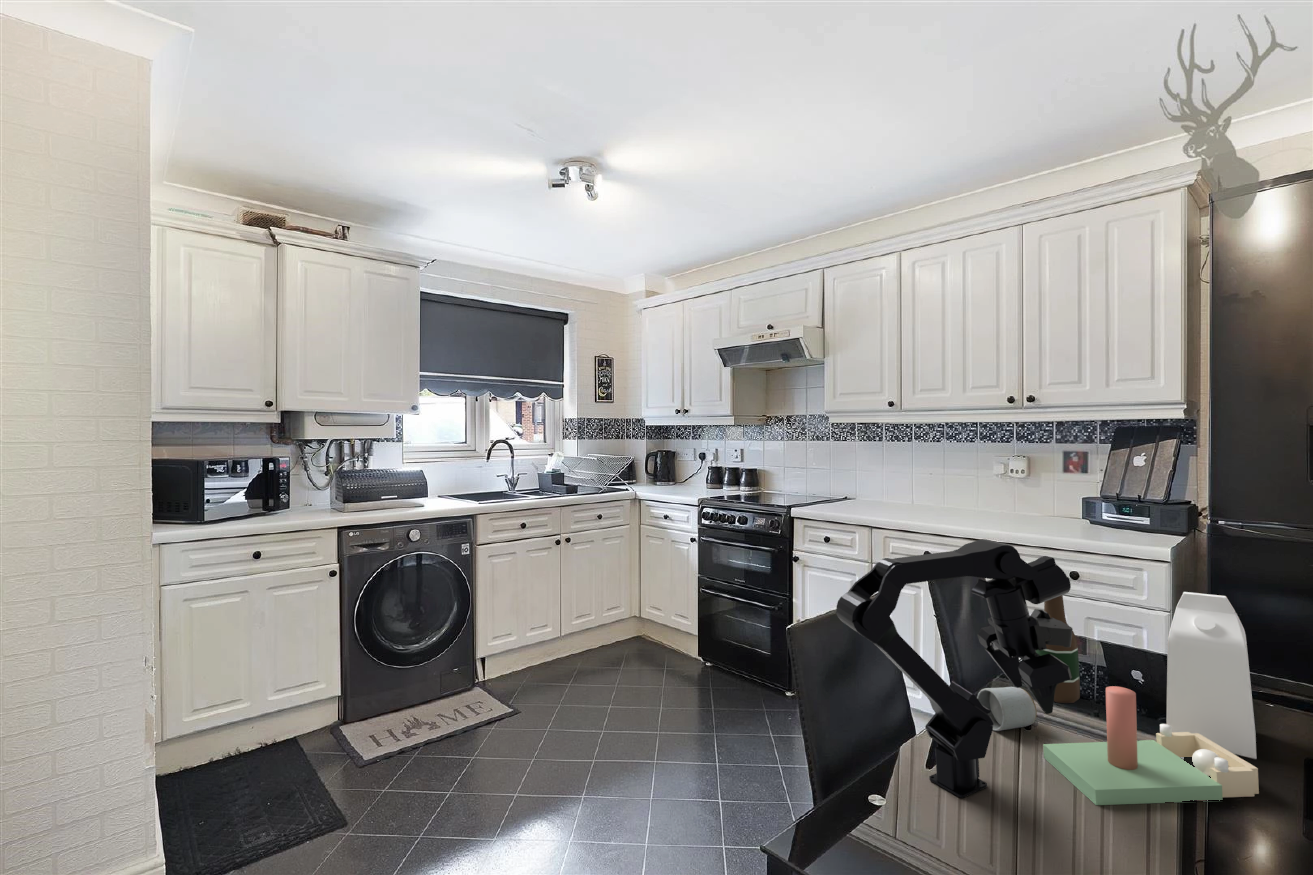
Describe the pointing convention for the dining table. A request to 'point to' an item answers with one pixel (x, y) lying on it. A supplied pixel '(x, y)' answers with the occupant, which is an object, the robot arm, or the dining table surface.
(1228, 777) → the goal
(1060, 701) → the beer bottle
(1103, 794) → the pitch
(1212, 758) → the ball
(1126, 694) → the salmon pink cylinder
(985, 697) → the ceramic mug
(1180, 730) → the milk
